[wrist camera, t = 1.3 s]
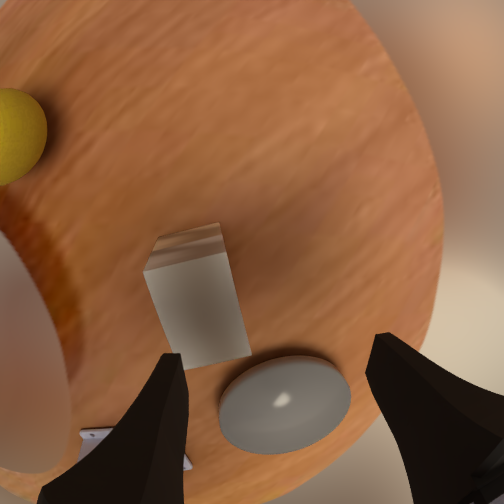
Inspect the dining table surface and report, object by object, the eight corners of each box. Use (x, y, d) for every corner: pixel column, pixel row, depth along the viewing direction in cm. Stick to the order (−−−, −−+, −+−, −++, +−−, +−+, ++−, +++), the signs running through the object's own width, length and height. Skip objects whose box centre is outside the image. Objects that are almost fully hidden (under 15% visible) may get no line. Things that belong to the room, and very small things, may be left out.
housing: (183, 317, 22) (180, 370, 16) (158, 236, 20) (142, 271, 14) (239, 304, 22) (252, 355, 17) (219, 221, 20) (226, 251, 15)
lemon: (-8, 159, 16) (-82, 173, 8) (23, 86, 15) (-49, 68, 7) (46, 190, 18) (-25, 217, 10) (80, 113, 16) (15, 98, 9)
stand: (233, 445, 27) (237, 464, 25) (201, 365, 23) (202, 387, 21) (341, 415, 28) (350, 432, 26) (337, 330, 24) (350, 347, 22)
